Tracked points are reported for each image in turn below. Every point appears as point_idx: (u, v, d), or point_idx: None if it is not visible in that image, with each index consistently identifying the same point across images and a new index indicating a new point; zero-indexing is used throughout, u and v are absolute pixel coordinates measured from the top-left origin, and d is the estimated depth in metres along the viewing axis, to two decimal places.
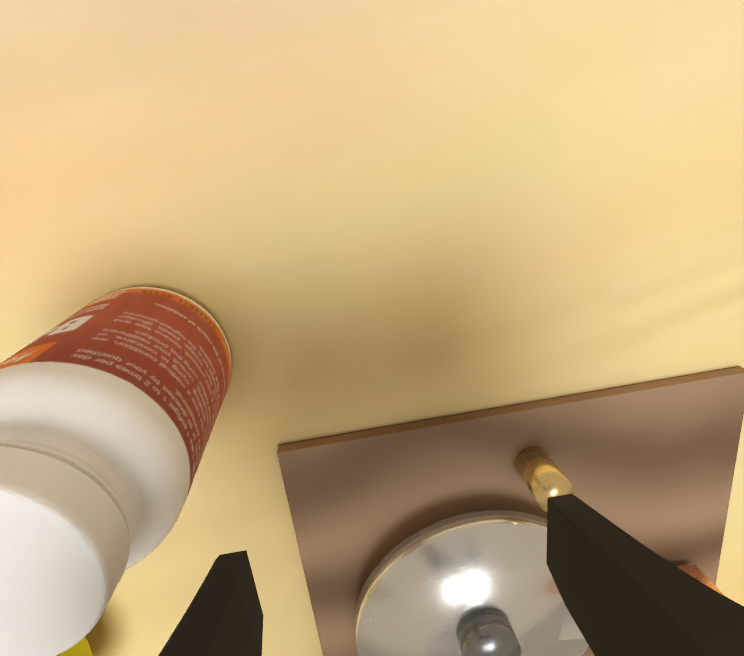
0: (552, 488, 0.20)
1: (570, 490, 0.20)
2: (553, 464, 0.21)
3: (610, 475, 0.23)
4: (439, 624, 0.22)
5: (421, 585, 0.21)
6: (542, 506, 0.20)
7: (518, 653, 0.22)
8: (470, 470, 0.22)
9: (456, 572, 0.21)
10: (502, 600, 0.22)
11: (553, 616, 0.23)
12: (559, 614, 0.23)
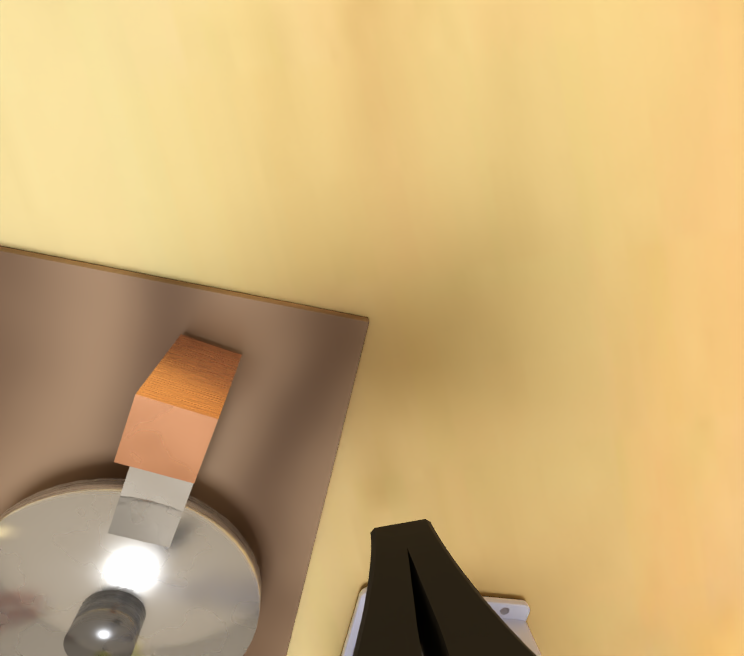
0: None
1: None
2: None
3: None
4: None
5: (22, 654, 0.20)
6: None
7: (104, 622, 0.19)
8: None
9: (14, 625, 0.20)
10: (75, 592, 0.20)
11: (123, 548, 0.19)
12: (123, 542, 0.19)
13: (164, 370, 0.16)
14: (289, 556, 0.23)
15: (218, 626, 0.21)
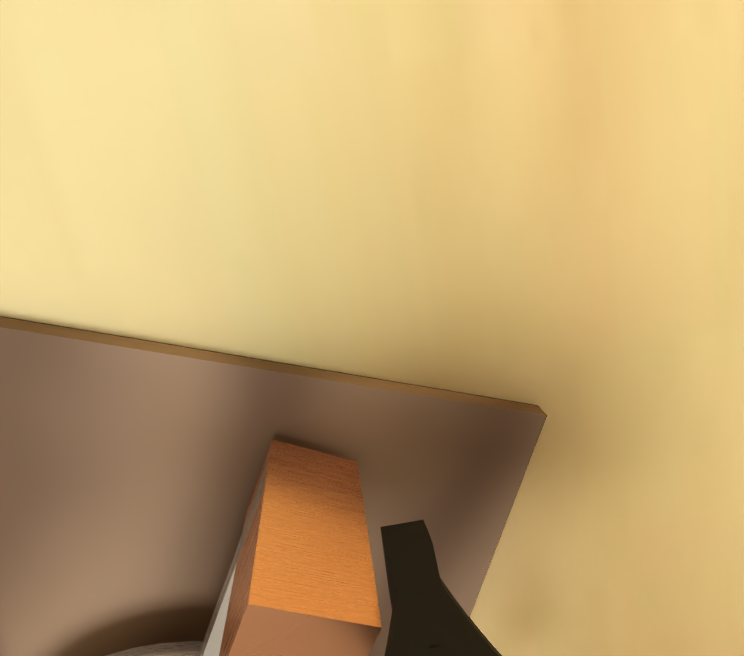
0: None
1: None
2: None
3: (28, 551, 0.13)
4: None
5: None
6: None
7: None
8: None
9: None
10: None
11: None
12: None
13: (273, 526, 0.10)
14: None
15: None
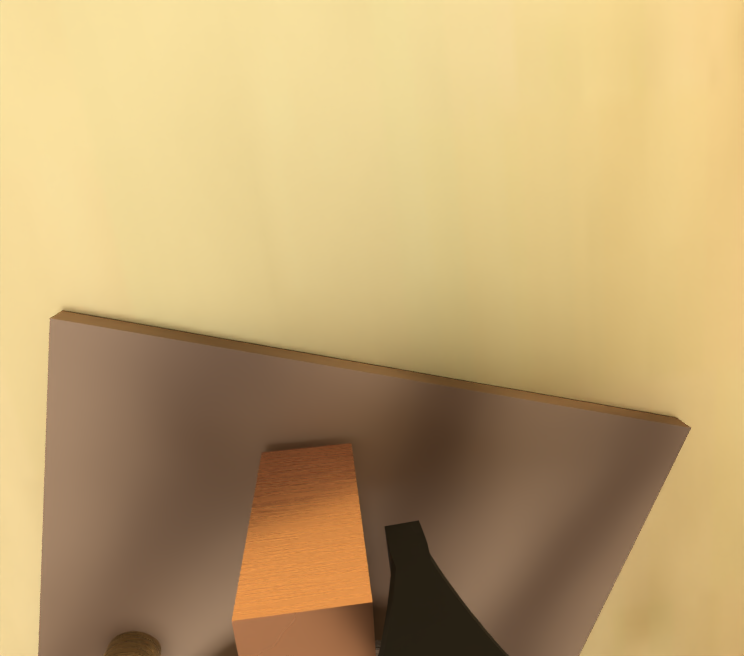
0: None
1: None
2: None
3: (206, 554, 0.14)
4: None
5: None
6: None
7: None
8: None
9: None
10: None
11: None
12: None
13: (260, 536, 0.10)
14: None
15: None
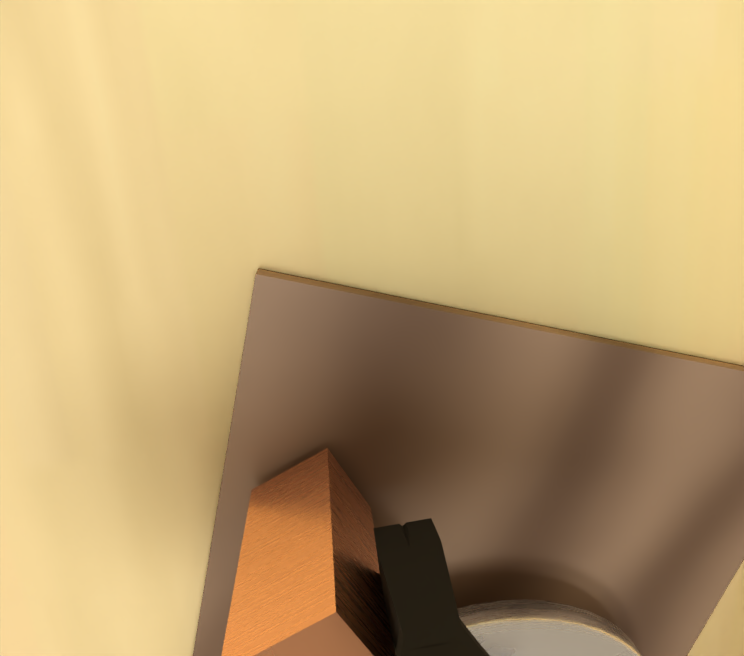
0: None
1: None
2: None
3: None
4: None
5: None
6: None
7: None
8: None
9: None
10: None
11: None
12: None
13: (246, 578, 0.10)
14: None
15: None
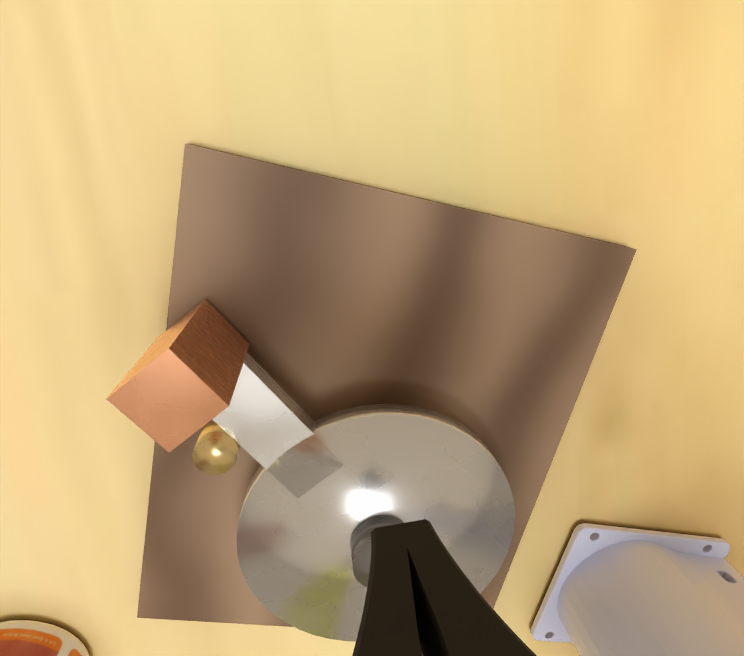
0: (200, 460, 0.18)
1: (210, 442, 0.18)
2: (204, 426, 0.19)
3: (282, 340, 0.19)
4: None
5: None
6: (221, 472, 0.18)
7: (365, 549, 0.19)
8: (216, 478, 0.21)
9: (340, 604, 0.22)
10: (339, 551, 0.21)
11: (320, 496, 0.20)
12: (314, 493, 0.19)
13: (136, 366, 0.15)
14: (520, 490, 0.23)
15: (455, 475, 0.20)
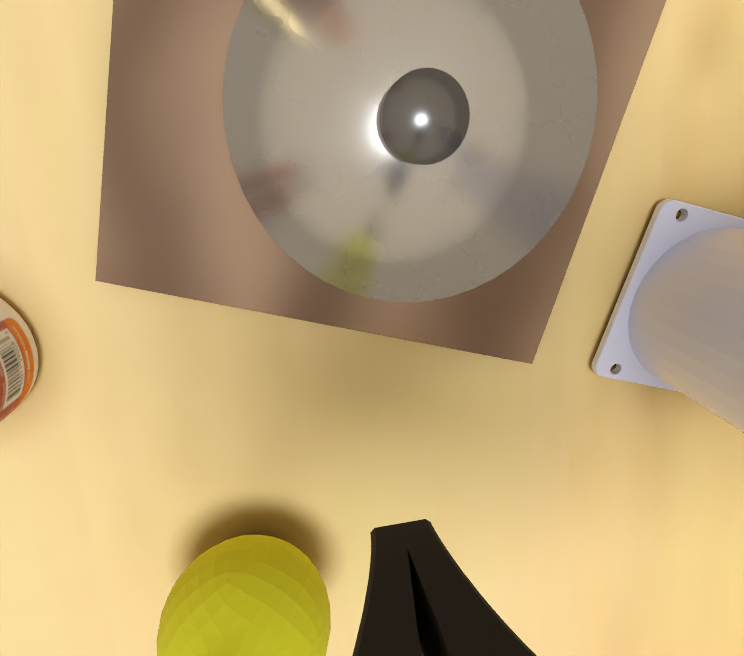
0: None
1: None
2: None
3: None
4: (442, 186, 0.16)
5: (401, 256, 0.17)
6: None
7: (400, 83, 0.14)
8: (198, 52, 0.16)
9: (360, 231, 0.16)
10: (361, 135, 0.15)
11: (338, 28, 0.14)
12: (330, 21, 0.14)
13: None
14: None
15: (522, 16, 0.15)
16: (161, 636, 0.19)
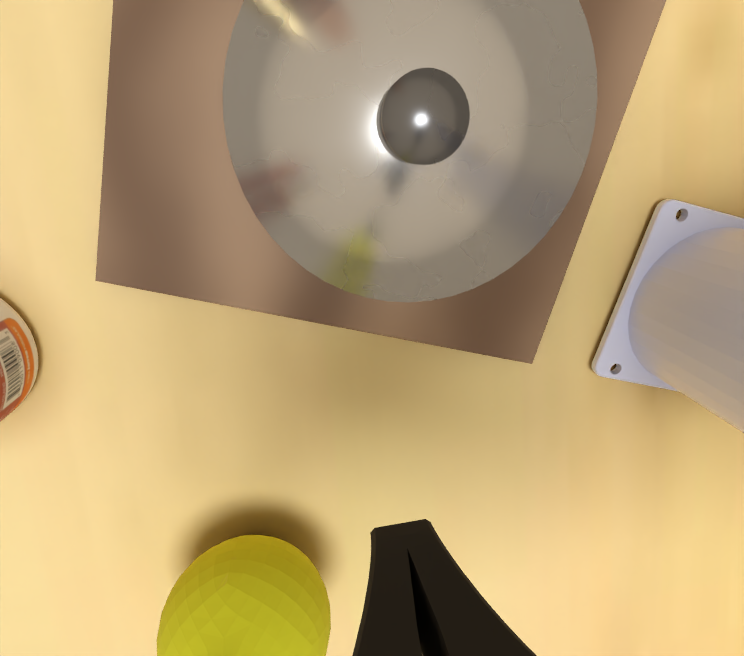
0: None
1: None
2: None
3: None
4: (442, 186, 0.16)
5: (401, 256, 0.17)
6: None
7: (400, 83, 0.14)
8: (198, 52, 0.16)
9: (360, 231, 0.16)
10: (361, 135, 0.15)
11: (338, 28, 0.14)
12: (330, 21, 0.14)
13: None
14: None
15: (522, 16, 0.15)
16: (161, 636, 0.19)
